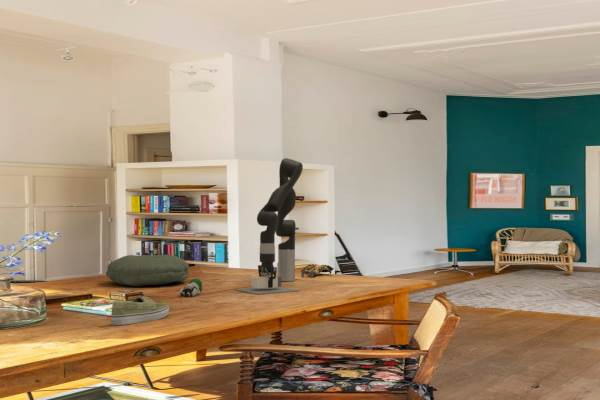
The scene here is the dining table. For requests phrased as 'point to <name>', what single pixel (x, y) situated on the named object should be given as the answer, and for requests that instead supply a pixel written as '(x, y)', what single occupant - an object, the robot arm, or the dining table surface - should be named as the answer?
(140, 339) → the dining table surface
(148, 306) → the boat shoe
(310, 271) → the figurine
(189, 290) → the toy
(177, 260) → the pillow
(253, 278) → the cream block
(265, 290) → the slate mat
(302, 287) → the dining table surface
